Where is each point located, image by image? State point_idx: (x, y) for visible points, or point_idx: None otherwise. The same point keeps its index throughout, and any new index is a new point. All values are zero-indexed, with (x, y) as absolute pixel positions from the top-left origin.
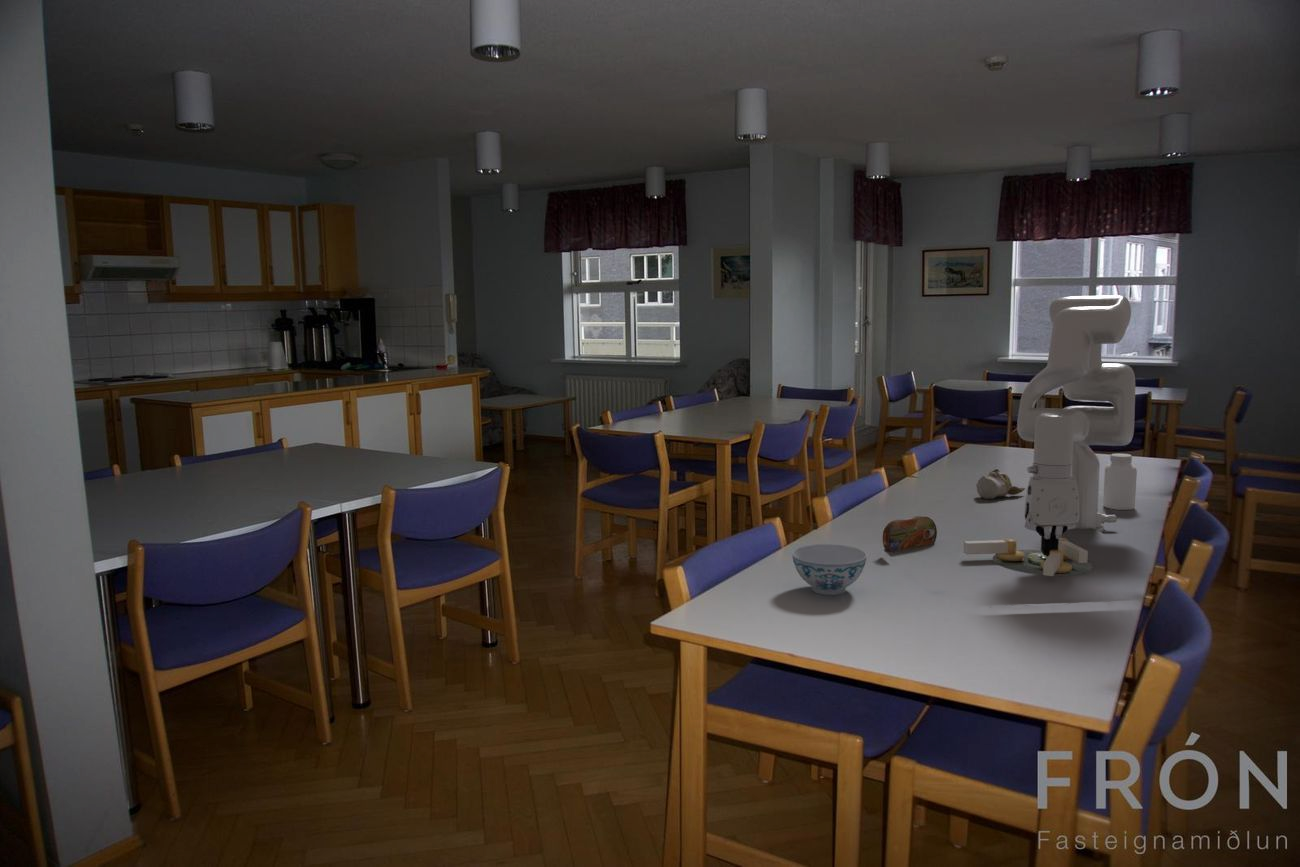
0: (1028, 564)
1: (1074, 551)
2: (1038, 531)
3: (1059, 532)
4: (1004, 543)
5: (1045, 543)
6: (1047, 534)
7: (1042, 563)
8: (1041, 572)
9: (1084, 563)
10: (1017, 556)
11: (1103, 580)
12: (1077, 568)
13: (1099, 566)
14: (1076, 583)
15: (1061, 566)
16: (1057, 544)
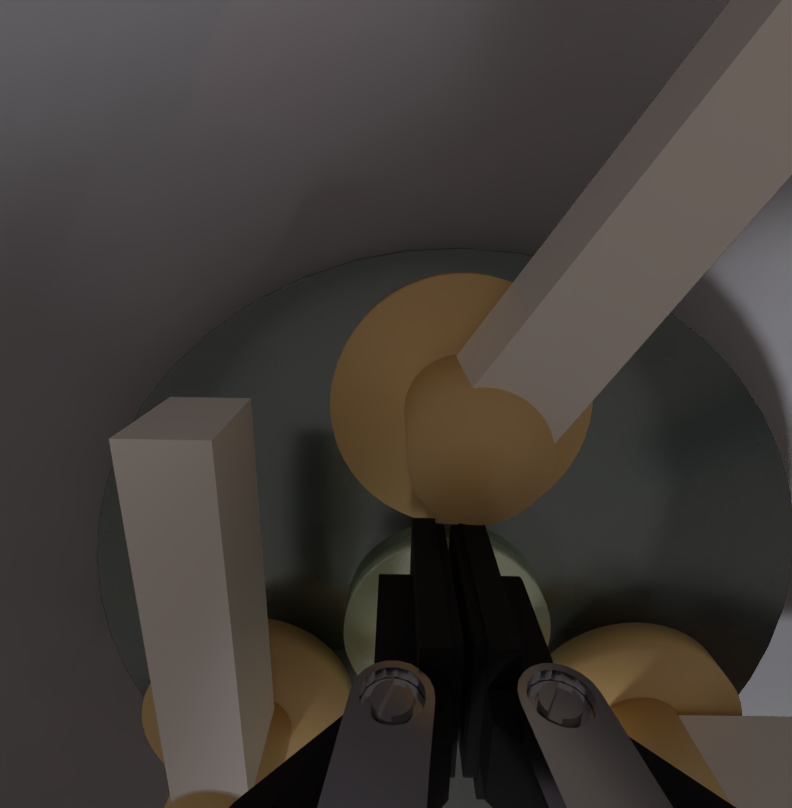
0: (574, 558)
1: (231, 523)
2: (722, 801)
3: (379, 747)
4: (757, 799)
5: (536, 637)
6: (564, 732)
7: (564, 448)
8: None
9: None
10: (639, 649)
11: (129, 257)
12: (259, 417)
13: (36, 571)
14: (372, 205)
15: (451, 337)
16: (388, 622)
